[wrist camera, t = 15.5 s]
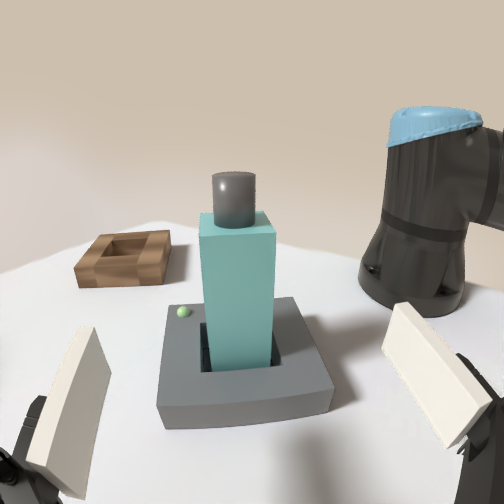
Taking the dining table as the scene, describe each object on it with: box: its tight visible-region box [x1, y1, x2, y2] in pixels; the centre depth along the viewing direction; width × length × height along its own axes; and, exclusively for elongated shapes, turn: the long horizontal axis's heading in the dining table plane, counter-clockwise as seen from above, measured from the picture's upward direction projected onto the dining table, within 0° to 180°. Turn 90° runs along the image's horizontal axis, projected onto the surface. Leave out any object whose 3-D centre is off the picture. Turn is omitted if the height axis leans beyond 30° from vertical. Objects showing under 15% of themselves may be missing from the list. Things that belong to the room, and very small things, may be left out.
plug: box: [199, 172, 276, 372], centre depth 21 cm, size 4×4×16 cm
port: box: [156, 297, 335, 429], centre depth 24 cm, size 12×12×4 cm
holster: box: [74, 230, 171, 288], centre depth 41 cm, size 12×12×3 cm
